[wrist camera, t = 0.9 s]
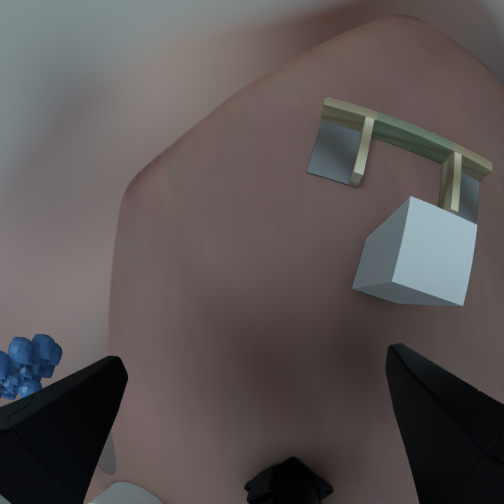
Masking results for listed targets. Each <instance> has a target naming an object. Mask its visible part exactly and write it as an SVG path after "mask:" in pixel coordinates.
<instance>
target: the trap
mask: <svg viewBox="0 0 504 504" xmlns="http://www.w3.org/2000/svg"><path fill="white" fill-rule="evenodd" d="M371 137H373V138H376V139H379V140H382V141H385V142H388V143H391V144H393V145H396V146H399V147H402V148H404V149H407V150H409V151H412V152H414V153H417V154H419V155H422V156H424V157H427V158H429V159H431V160H434V161H436V162H438V163H440V164H443V166H442V179H441V189H440V198H439V206H438V208H441V209H443V210H445V211H448V212H450V213H452V214H454V215H457V216H459V217H461V218H463V219H465V220H468V221H470V222H472V223H474V224H476V222H477V211H478V195H479V181H480V180H481V179H482V178H484V177H485V176H486V175H488V174H489V173H490V172H492V163H491V162H490V161H488V160H486V159H484V158H483V157H481V156H479V155H477V154H475V153H473V152H471V151H469V150H468V149H466V148H464V147H462V146H460V145H458V144H456V143H453V142H451V141H449V140H447V139H445V138H443V137H441V136H438V135H436V134H434V133H432V132H429V131H427V130H425V129H422V128H420V127H417V126H415V125H412V124H410V123H407V122H404V121H402V120H399V119H396V118H394V117H391V116H388V115H385V114H382V113H379V112H376V111H373V110H370V109H367V108H364V107H360V106H357V105H354V104H350V103H347V102H343V101H340V100H336V99H332V98H328V97H326V98H325V101H324V104H323V117H322V123H321V127H320V130H319V133H318V137H317V140H316V143H315V146H314V150H313V153H312V156H311V159H310V163H309V166H308V169H307V173H309V174H313V175H316V176H320V177H323V178H326V179H330V180H333V181H336V182H339V183H342V184H346V185H349V186H352V187H355V188H357V187H358V185H359V183H360V180H361V178H362V176H363V173H364V169H365V164H366V160H367V155H368V150H369V145H370V140H371Z"/></svg>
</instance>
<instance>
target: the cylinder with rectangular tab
mask: <svg viewBox="0 0 504 504" xmlns="http://www.w3.org/2000/svg"><path fill="white" fill-rule="evenodd" d="M89 504H163V503H162V502H161V501H160V500H159V499H158V498H157V497H155V496H154V495H152V494H151V493H150V492H148V491H146V490H145V489H143V488H141V487H139V486H137V485H134V484H131V483H127V482H117V483H114V484H113V485H111V486H110V487H109V488H108V489H106V490H105V491H104V492H103V493H101V494H100V495H99V496H98V497H96V498H95V499H94V500H92V501H91V502H90V503H89Z"/></svg>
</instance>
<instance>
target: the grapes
mask: <svg viewBox="0 0 504 504" xmlns="http://www.w3.org/2000/svg"><path fill="white" fill-rule="evenodd" d="M61 356H62V348H61V347H60V346H59V345H58V344H57V343H55V342H54V340H53V339H52V338H51V337H50V336H48V335H45V334H36V335H35V336H34V338H33V340H32V341H30V340H29V339H27V338H24V337H14V339H13V340H12V342H11V343H10V345H9V350H8V355H7V354H6V353H5V352H2V351H0V398H1V396H2V397H3V398H6V399H10V400H15V398H16V396H17V393H19V396H20V397H21V398H24V397H26V396H28V395H30V394H32V393H34V392H35V393H36V392H37V391H39V390H41V389H42V386H41V383H40V380H41V377H44V378H51V376H52V374H53V371H54V368H55V365H58V364H59V361H60V359H61Z"/></svg>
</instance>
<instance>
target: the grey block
mask: <svg viewBox="0 0 504 504" xmlns="http://www.w3.org/2000/svg"><path fill="white" fill-rule="evenodd" d="M476 231H477V225H476V224H474V223H472V222H470V221H468V220H465V219H463V218H461V217H459V216H457V215H454V214H452V213H450V212H448V211H445V210H443V209H441V208H438V207H436V206H434V205H431V204H429V203H426V202H424V201H422V200H419V199H417V198H414V197H411V196H410V197H409V198H408V199H407V200H406V201H405V202H404V203H403V204H402V205H401V206H400V207H399V208H398V209H397V210H396V211H395V212H394V213H393V214H392V215H391V216H390V217H389V218H388V219H387V220H386V221H384V222H383V223H382V224H381V225H380V226H379V227H378V228H377V229H376V230H375V231H374V232H373V233H372V234H371V235H369V236H368V237H367V238H366V241H365V244H364V248H363V252H362V255H361V259H360V262H359V266H358V269H357V273H356V276H355V279H354V283H353V286H352V289H354V290H357V291H360V292H364V293H367V294H370V295H373V296H376V297H379V298H382V299H385V300H388V301H391V302H394V303H397V304H416V305H444V306H463V303H464V299H465V295H466V291H467V286H468V281H469V276H470V271H471V265H472V260H473V253H474V246H475V239H476Z"/></svg>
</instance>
